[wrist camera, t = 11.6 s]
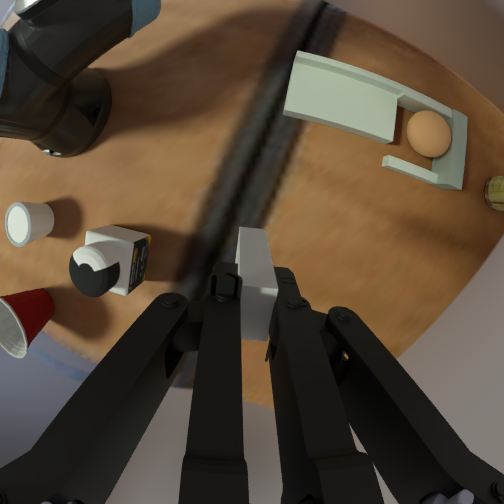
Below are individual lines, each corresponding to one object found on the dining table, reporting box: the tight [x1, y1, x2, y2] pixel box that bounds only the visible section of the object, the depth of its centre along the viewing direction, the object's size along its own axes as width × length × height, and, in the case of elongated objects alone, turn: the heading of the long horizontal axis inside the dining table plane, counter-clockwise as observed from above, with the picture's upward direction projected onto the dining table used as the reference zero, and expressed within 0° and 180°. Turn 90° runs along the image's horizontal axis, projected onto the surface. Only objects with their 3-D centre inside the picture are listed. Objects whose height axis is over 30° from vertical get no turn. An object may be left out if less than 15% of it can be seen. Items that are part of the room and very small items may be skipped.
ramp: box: [283, 50, 468, 190], centre depth 34 cm, size 28×12×5 cm, turn 79°
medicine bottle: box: [69, 225, 151, 297], centre depth 34 cm, size 7×7×12 cm
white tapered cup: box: [5, 202, 54, 247], centre depth 36 cm, size 7×7×7 cm
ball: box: [407, 110, 451, 157], centre depth 33 cm, size 7×7×7 cm
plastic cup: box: [0, 289, 54, 358], centre depth 36 cm, size 11×11×12 cm
